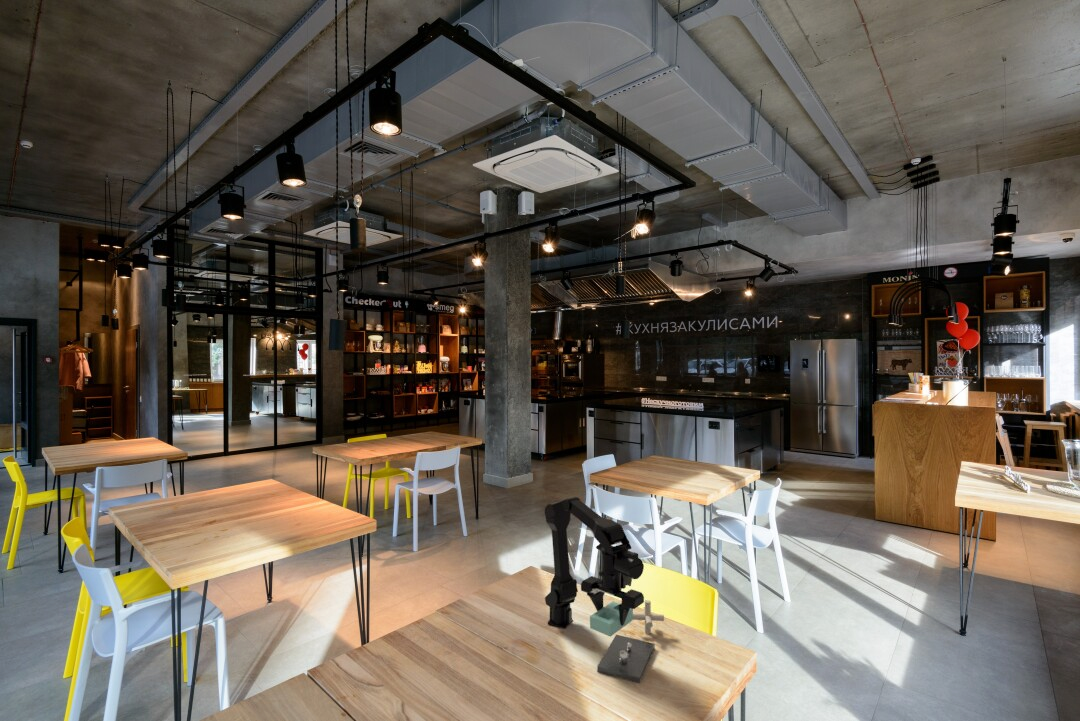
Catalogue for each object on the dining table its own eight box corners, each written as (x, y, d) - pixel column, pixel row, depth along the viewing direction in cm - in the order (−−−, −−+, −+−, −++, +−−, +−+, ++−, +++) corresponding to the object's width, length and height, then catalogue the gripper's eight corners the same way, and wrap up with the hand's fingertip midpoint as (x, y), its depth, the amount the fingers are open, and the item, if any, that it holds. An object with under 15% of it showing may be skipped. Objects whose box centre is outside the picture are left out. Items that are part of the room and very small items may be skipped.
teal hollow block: (610, 636, 142) (610, 624, 142) (590, 628, 147) (589, 616, 147) (632, 620, 151) (632, 608, 151) (613, 612, 156) (613, 601, 156)
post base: (597, 671, 143) (597, 657, 142) (616, 639, 159) (616, 626, 159) (639, 683, 137) (639, 668, 137) (654, 648, 154) (654, 635, 154)
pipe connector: (661, 625, 167) (661, 594, 167) (666, 642, 157) (665, 609, 157) (630, 623, 168) (630, 593, 168) (633, 640, 158) (633, 608, 158)
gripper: (653, 567, 149) (654, 620, 149) (600, 552, 162) (601, 601, 161) (633, 579, 141) (634, 636, 141) (579, 562, 153) (580, 614, 153)
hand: (611, 620), depth 149 cm, fingers closed on teal hollow block, 7 cm apart
